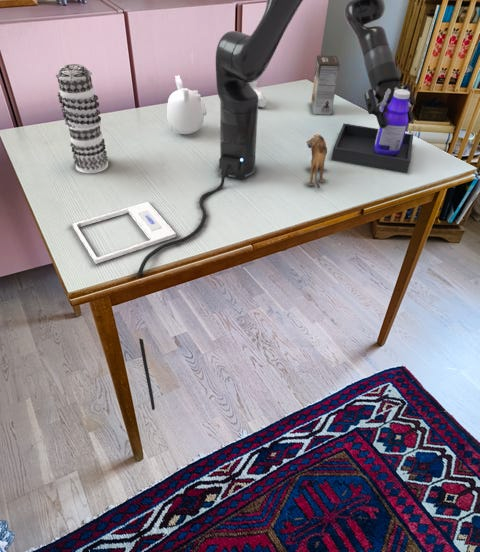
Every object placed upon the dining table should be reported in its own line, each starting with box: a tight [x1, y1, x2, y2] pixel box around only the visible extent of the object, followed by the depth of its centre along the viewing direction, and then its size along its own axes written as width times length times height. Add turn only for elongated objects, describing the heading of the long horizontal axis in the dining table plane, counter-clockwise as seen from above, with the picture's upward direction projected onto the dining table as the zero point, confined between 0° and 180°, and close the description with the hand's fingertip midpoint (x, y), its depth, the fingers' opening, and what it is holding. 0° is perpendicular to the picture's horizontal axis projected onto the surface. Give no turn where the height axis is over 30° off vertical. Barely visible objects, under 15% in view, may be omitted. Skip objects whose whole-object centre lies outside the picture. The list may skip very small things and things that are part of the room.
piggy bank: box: [166, 74, 207, 135], centre depth 136 cm, size 12×12×15 cm
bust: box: [249, 78, 267, 108], centre depth 155 cm, size 12×8×11 cm
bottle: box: [374, 89, 410, 156], centre depth 127 cm, size 7×6×17 cm
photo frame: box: [71, 201, 177, 265], centre depth 101 cm, size 15×1×18 cm
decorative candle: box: [55, 63, 109, 174], centre depth 115 cm, size 9×9×25 cm
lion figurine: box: [306, 133, 328, 189], centre depth 120 cm, size 15×5×9 cm, turn 0°
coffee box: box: [310, 54, 341, 116], centre depth 151 cm, size 9×6×16 cm
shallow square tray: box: [331, 122, 414, 174], centre depth 133 cm, size 18×21×4 cm
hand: (397, 124), depth 126 cm, fingers open, 8 cm apart
